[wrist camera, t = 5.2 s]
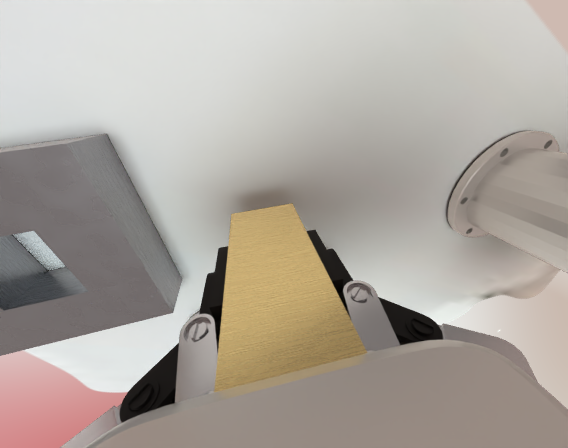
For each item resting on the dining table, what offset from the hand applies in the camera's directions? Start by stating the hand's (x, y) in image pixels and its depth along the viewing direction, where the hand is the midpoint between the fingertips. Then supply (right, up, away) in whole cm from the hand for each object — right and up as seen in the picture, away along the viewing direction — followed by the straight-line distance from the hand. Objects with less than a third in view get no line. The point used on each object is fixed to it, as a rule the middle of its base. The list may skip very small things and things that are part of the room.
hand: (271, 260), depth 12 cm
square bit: (-1, +1, +2) cm, 3 cm away
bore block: (-17, +1, +5) cm, 18 cm away
